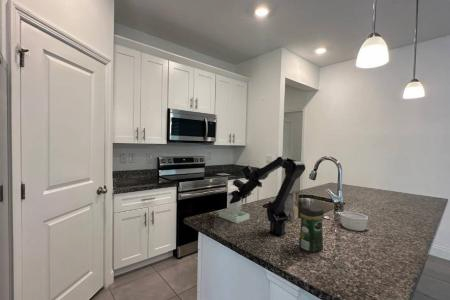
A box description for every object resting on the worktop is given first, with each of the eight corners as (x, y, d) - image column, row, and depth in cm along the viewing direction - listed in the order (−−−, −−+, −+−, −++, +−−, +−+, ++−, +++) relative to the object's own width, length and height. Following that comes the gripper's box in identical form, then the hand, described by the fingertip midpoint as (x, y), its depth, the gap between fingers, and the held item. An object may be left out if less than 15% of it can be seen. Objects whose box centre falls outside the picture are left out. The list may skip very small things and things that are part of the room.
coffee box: (288, 215, 136) (289, 190, 136) (298, 217, 132) (299, 191, 132) (282, 219, 129) (283, 192, 128) (293, 221, 125) (293, 194, 124)
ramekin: (340, 221, 127) (340, 210, 127) (366, 226, 121) (367, 214, 120) (339, 228, 116) (339, 215, 116) (368, 234, 109) (369, 220, 109)
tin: (240, 212, 129) (241, 193, 129) (236, 215, 124) (237, 195, 124) (231, 211, 132) (232, 191, 132) (227, 213, 127) (227, 193, 127)
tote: (249, 219, 126) (249, 214, 126) (236, 223, 119) (236, 218, 119) (231, 212, 137) (231, 208, 137) (218, 216, 130) (218, 211, 130)
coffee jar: (310, 242, 98) (312, 202, 98) (326, 249, 91) (327, 206, 90) (295, 246, 94) (296, 204, 93) (309, 254, 86) (311, 209, 86)
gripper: (247, 173, 134) (230, 189, 139) (234, 176, 118) (216, 194, 123) (258, 187, 131) (241, 202, 136) (247, 192, 114) (228, 210, 119)
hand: (232, 202), depth 129 cm, fingers closed on tin, 6 cm apart
